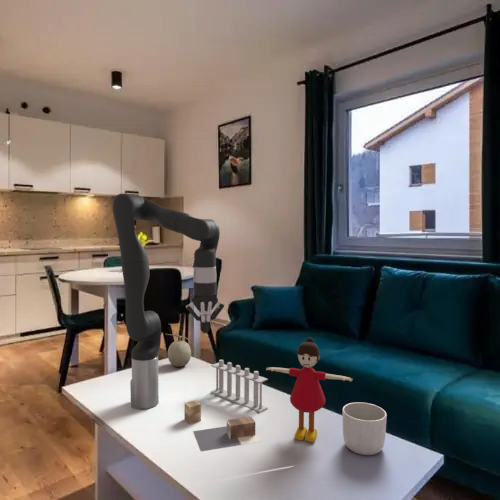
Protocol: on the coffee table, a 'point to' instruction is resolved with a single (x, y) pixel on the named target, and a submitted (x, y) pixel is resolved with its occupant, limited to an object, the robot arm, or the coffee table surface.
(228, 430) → the walnut block
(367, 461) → the coffee table surface
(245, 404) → the test tube rack
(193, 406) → the oak block
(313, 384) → the toy
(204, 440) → the mat
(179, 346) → the fruit
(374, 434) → the planter
